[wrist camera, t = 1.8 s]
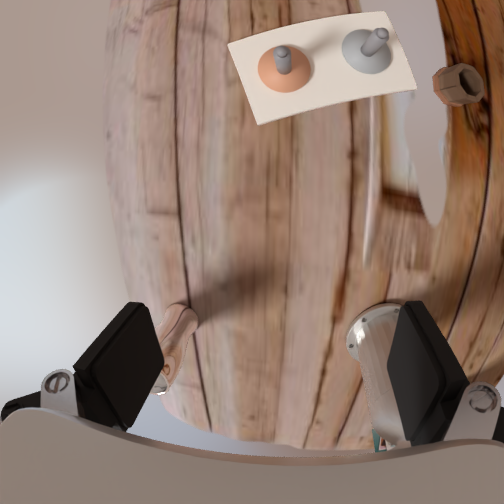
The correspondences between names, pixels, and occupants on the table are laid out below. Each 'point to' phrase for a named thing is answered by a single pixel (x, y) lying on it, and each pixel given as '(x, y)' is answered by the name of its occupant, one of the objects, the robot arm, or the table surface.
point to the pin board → (321, 64)
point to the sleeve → (458, 85)
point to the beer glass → (173, 343)
